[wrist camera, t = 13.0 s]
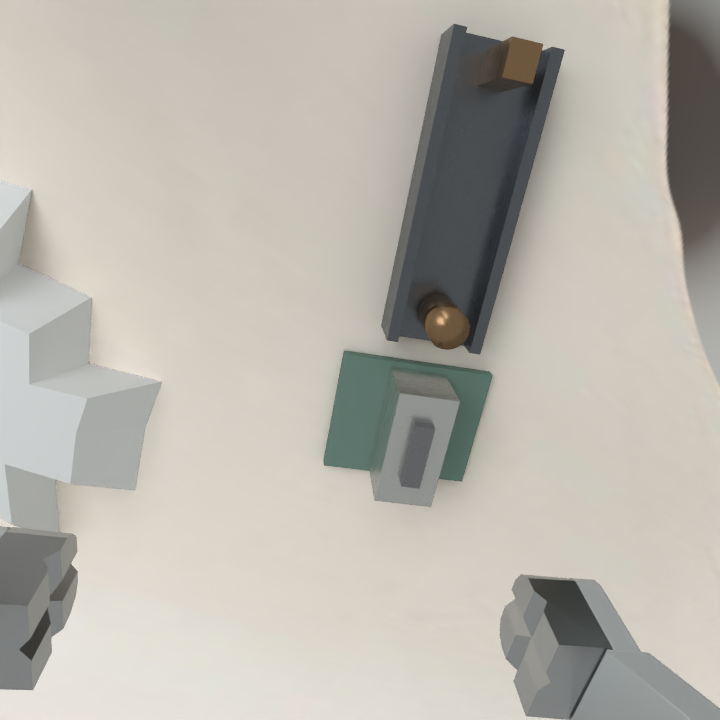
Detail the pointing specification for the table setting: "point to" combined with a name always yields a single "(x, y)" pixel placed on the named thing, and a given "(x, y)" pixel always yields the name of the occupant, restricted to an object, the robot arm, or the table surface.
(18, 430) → the white jagged cross block
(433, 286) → the dark grey channel holder
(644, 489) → the table surface
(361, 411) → the rubber mat
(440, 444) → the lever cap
